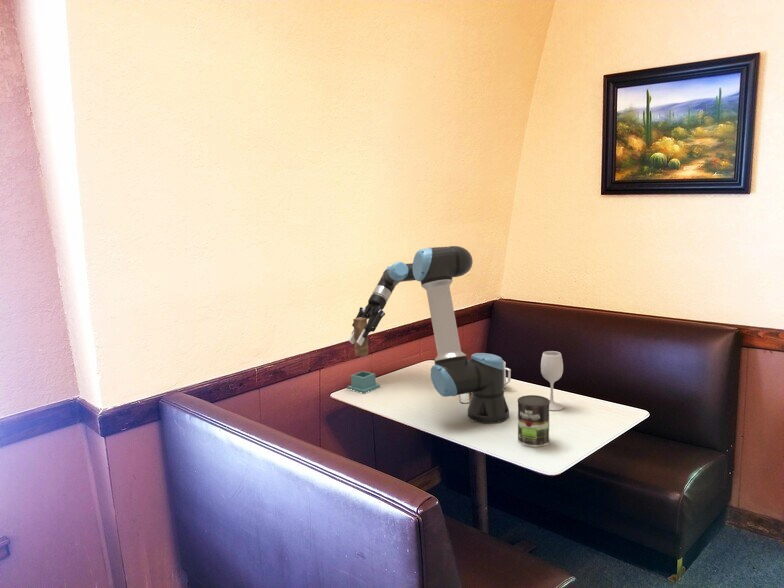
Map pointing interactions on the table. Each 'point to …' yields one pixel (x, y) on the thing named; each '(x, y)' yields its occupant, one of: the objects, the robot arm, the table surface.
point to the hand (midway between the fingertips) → (354, 342)
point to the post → (358, 328)
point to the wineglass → (552, 373)
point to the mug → (505, 374)
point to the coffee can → (533, 420)
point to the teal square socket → (363, 382)
